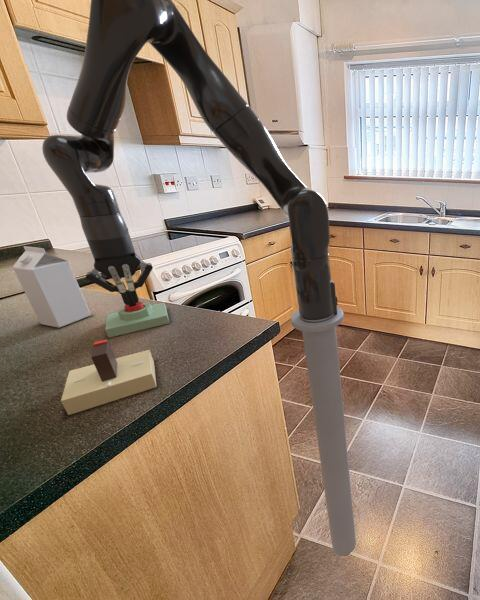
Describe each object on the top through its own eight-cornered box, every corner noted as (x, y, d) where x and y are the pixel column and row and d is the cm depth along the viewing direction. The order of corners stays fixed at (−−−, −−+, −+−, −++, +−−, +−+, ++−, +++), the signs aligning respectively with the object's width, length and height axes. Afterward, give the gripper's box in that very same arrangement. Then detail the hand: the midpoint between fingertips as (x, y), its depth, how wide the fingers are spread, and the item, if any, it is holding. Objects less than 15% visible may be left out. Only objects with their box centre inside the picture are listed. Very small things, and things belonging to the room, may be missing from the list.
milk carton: (73, 312, 90) (42, 242, 82) (91, 316, 88) (61, 244, 80) (40, 324, 84) (3, 250, 76) (59, 328, 82) (23, 252, 74)
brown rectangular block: (116, 377, 59) (105, 351, 57) (101, 381, 58) (90, 355, 55) (117, 362, 63) (107, 338, 61) (103, 366, 62) (93, 342, 60)
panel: (153, 361, 68) (149, 348, 67) (156, 387, 61) (151, 372, 60) (75, 384, 62) (68, 370, 61) (68, 415, 54) (60, 400, 53)
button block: (166, 309, 91) (162, 296, 90) (169, 323, 84) (164, 308, 82) (110, 321, 85) (104, 307, 83) (108, 337, 77) (102, 322, 76)
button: (144, 306, 85) (142, 300, 85) (144, 311, 83) (142, 305, 82) (126, 310, 83) (124, 304, 83) (126, 315, 81) (124, 309, 80)
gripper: (65, 242, 69) (96, 317, 76) (144, 233, 76) (166, 303, 83) (70, 235, 74) (99, 306, 81) (143, 228, 82) (164, 293, 89)
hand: (133, 304), depth 82 cm, fingers closed
